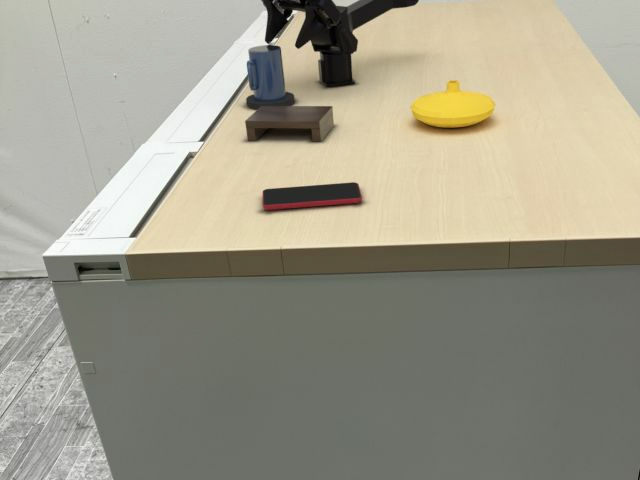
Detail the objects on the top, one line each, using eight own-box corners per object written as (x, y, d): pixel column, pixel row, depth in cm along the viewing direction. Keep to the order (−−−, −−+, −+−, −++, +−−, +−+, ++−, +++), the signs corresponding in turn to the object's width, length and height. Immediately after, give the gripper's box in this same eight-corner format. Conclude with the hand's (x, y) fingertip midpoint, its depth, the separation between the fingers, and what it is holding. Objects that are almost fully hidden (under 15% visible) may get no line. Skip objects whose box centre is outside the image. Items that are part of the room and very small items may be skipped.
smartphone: (362, 198, 124) (262, 205, 123) (362, 204, 124) (263, 211, 123) (358, 181, 129) (262, 189, 128) (358, 187, 130) (263, 194, 129)
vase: (435, 140, 147) (435, 97, 142) (396, 119, 158) (395, 79, 153) (511, 125, 151) (513, 84, 147) (467, 106, 163) (468, 67, 158)
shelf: (263, 125, 159) (261, 105, 157) (333, 125, 157) (332, 106, 155) (247, 140, 152) (244, 120, 150) (321, 141, 149) (319, 121, 147)
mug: (271, 91, 174) (266, 43, 169) (292, 95, 171) (287, 47, 165) (241, 100, 170) (234, 51, 164) (262, 105, 166) (256, 55, 160)
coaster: (289, 94, 176) (288, 88, 175) (299, 106, 169) (298, 99, 168) (243, 100, 174) (242, 94, 174) (251, 112, 167) (250, 106, 166)
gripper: (260, -59, 165) (226, 13, 166) (325, -55, 155) (288, 22, 156) (294, -19, 174) (261, 49, 175) (356, -12, 164) (321, 60, 165)
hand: (281, 44), depth 168 cm, fingers open, 9 cm apart
